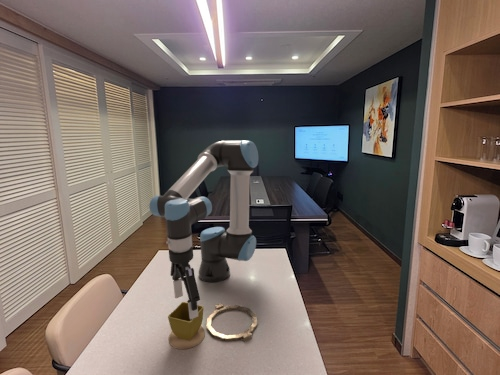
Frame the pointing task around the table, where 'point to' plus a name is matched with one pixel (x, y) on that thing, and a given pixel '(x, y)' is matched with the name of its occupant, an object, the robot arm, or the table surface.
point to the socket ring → (244, 335)
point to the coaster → (187, 344)
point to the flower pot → (185, 321)
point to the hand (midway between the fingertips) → (186, 306)
